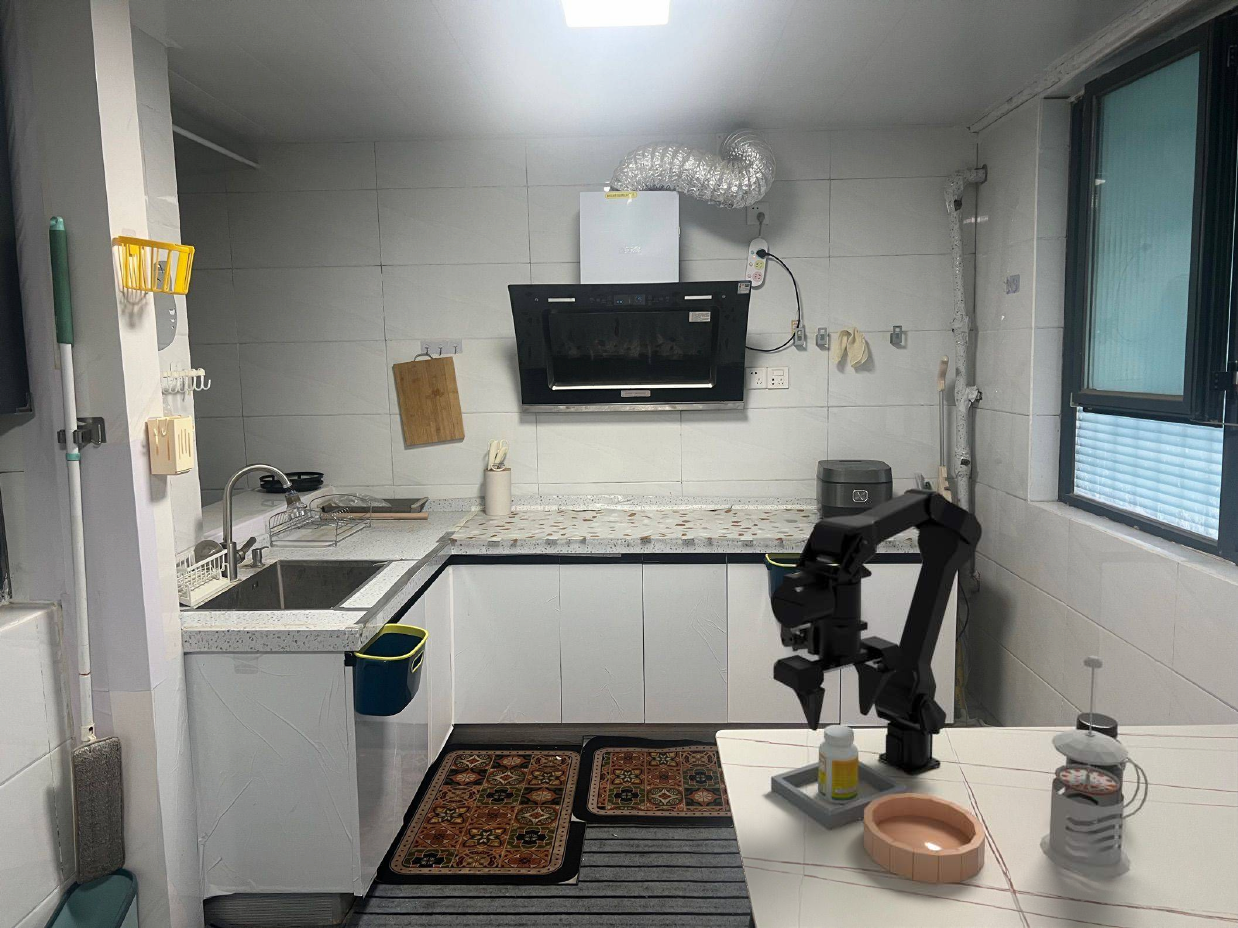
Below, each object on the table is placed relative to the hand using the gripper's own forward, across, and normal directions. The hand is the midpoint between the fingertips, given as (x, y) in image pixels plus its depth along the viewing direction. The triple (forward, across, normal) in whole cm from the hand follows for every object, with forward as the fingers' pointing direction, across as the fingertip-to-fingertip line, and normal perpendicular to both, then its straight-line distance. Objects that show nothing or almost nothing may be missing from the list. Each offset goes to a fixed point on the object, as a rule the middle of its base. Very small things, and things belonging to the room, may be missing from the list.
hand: (838, 721), depth 118 cm
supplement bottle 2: (+11, -28, +19) cm, 35 cm away
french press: (+11, -17, +26) cm, 33 cm away
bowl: (+11, 0, +15) cm, 18 cm away
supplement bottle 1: (+11, 0, 0) cm, 11 cm away
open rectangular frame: (+11, 0, 0) cm, 11 cm away
